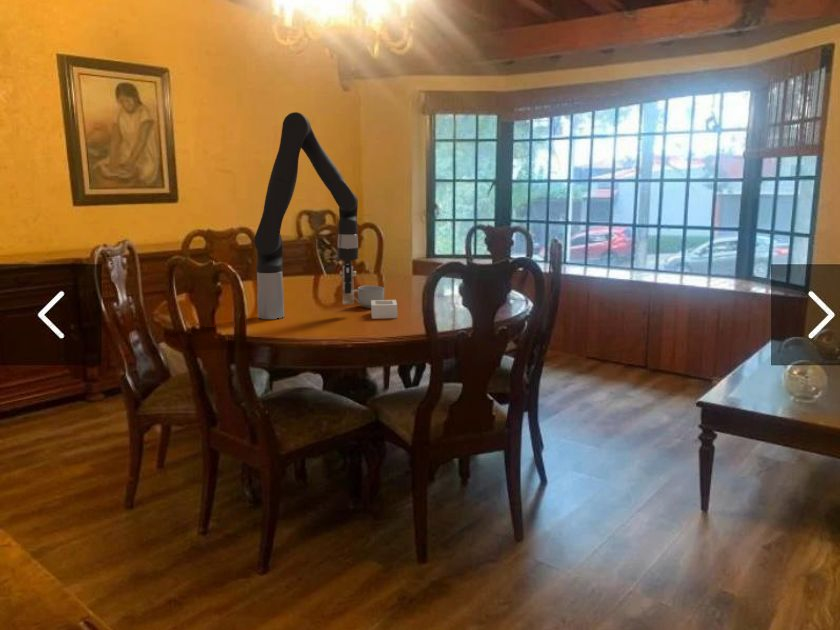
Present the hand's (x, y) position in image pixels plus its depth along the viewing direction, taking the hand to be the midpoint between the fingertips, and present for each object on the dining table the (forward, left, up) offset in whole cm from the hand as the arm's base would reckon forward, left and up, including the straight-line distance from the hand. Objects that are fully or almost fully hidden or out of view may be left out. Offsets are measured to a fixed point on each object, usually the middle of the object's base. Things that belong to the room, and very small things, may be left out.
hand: (348, 292), depth 251 cm
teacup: (+7, +19, -10) cm, 22 cm away
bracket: (0, 0, -4) cm, 4 cm away
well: (+13, 0, -9) cm, 16 cm away
